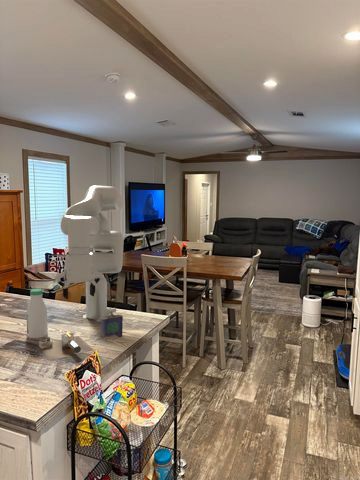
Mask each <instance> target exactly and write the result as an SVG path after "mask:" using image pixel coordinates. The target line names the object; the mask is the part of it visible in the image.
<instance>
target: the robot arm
mask: <svg viewBox="0 0 360 480" xmlns="http://www.w3.org/2000/svg"><path fill="white" fill-rule="evenodd" d="M122 207H123V198H122V195H121V193H120V191H119V189H118V188H117V187H115V186H112V185H110V186H109V185H92V186H89V188H87V189H86V191H85V194H84V196H83V199H82V200H81V201H80V202H77V203H76V204H73V205H71V206H70V207H68V208H66V209H65V211H64V214H63V215H62V217H61V221H60V231H61V232H62V234H63V235H65V236H68V239H67V241H68V254H66V255H65V260H64V269H63V271H62V272H60V273H59V274H57V275H55V276H54V279H55V280H56V283H57V284H58V285H59V286H61V288H62V297H63V298H64V299H65V300H68V299H69V288H68V286H69V285H70V284H75V283H84V282H85V313H84V314H83V315H82V319H87V318H88V319H89V320H94V321H95V322H97V323H99V324H101V318H104V317H109V315H110V312H112V313H116V312H117V308H116V307H113V308H112V307H108V306H107V305H108V304H107V303H108V283H107V279H106V278H105V275H103V274H118V273H121V271H122V269H123V258H124V257H123V256H124V242H125V241H124V236H123V233H122V232H121V231H119V230H109V229H110V228H109V227H110V221H109V219H108V218H107V216H106V215H105V214H104V213H103V212H119V211H121V210H122ZM106 251H107V252H106ZM61 278H63V280H64V281H62V280H61Z"/></svg>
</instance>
